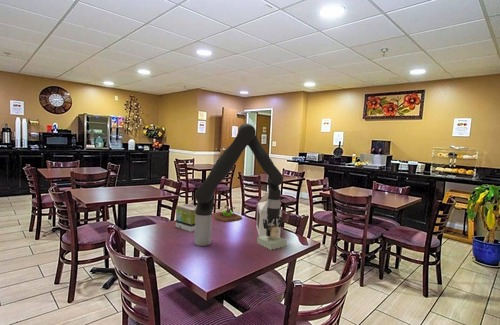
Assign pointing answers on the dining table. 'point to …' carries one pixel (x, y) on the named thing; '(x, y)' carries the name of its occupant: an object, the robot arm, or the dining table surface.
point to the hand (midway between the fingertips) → (271, 235)
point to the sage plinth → (271, 242)
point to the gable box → (263, 215)
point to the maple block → (273, 231)
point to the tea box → (186, 217)
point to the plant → (227, 215)
